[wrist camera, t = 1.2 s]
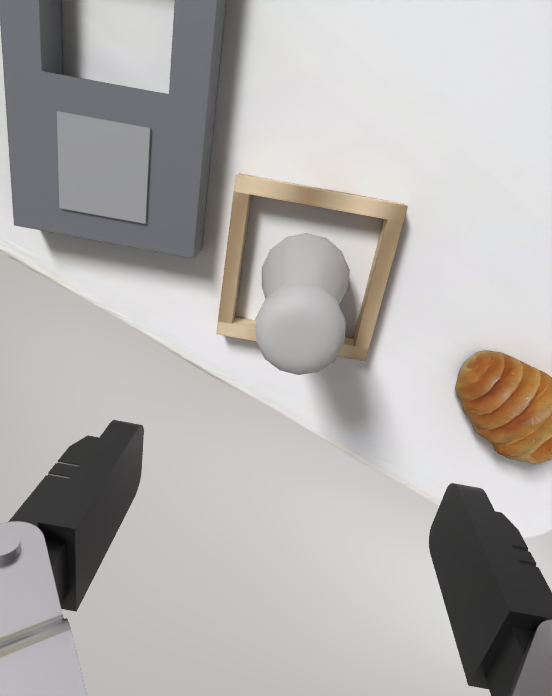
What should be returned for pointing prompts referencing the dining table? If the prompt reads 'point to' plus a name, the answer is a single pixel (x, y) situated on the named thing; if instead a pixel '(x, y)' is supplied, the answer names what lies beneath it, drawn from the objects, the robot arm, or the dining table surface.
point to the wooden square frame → (320, 198)
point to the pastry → (508, 405)
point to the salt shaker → (302, 304)
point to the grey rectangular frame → (111, 134)
